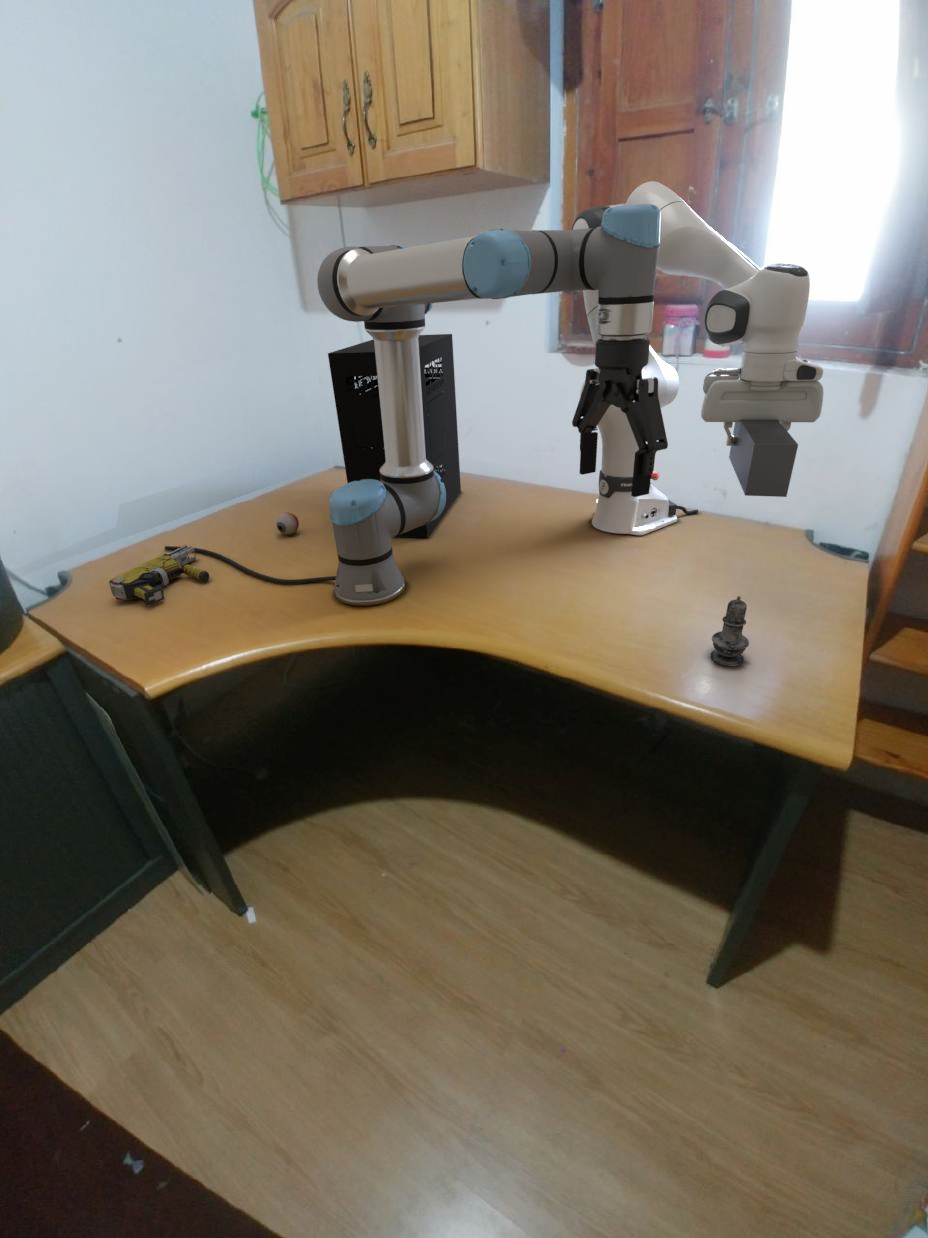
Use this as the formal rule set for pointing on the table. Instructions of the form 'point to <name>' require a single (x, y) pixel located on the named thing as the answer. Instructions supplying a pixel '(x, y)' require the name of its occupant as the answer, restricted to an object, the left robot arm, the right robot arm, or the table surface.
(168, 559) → the toy gun
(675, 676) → the table surface
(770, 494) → the box
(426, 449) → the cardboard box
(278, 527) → the eyeball
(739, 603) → the dark grey chess piece
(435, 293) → the left robot arm
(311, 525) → the table surface
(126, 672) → the table surface
